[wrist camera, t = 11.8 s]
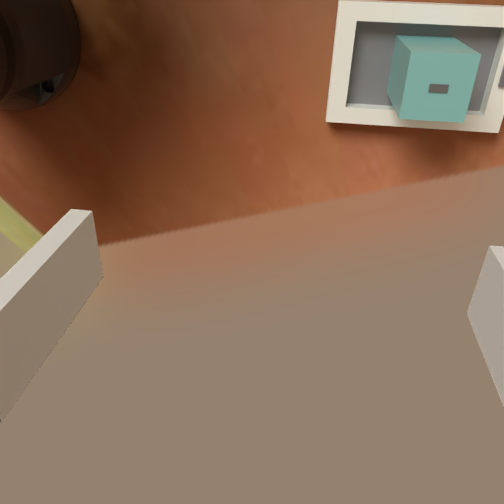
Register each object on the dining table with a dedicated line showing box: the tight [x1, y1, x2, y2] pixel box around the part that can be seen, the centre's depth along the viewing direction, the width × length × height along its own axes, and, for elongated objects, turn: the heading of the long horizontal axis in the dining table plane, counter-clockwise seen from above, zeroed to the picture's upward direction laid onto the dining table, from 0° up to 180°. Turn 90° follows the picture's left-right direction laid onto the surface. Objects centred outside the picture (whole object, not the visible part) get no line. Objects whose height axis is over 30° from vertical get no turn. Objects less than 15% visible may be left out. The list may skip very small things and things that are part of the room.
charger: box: [387, 35, 481, 123], centre depth 40 cm, size 5×5×9 cm
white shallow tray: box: [326, 0, 504, 133], centre depth 43 cm, size 16×10×2 cm, turn 88°
